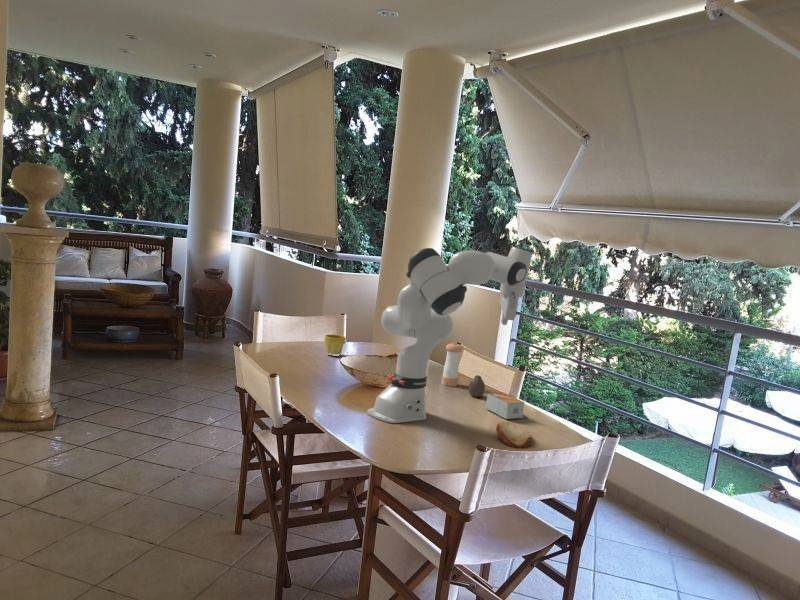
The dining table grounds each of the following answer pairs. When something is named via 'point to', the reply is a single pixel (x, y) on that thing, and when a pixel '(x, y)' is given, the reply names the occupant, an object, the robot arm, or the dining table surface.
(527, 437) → the bread slice
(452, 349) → the pepper shaker
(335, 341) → the plant pot
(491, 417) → the dining table surface
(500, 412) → the small box
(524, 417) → the mat
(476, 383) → the avocado
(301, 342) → the dining table surface
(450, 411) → the dining table surface
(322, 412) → the dining table surface
